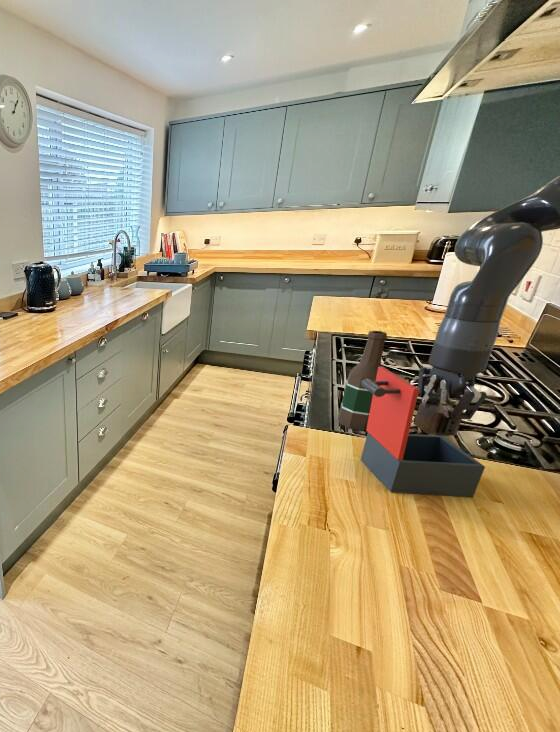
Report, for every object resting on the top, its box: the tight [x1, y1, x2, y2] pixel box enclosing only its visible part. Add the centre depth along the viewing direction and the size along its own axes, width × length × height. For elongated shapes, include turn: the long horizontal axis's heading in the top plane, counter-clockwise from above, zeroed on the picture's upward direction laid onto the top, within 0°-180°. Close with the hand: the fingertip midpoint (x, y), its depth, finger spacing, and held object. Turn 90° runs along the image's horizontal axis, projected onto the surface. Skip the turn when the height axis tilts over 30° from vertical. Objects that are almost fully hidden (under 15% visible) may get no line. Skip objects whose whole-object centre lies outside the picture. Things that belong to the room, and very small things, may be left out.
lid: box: [361, 366, 419, 460], centre depth 80 cm, size 14×12×5 cm
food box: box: [360, 432, 486, 498], centre depth 83 cm, size 14×12×7 cm
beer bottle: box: [338, 330, 388, 432], centre depth 101 cm, size 8×8×24 cm
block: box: [413, 402, 463, 436], centre depth 79 cm, size 4×4×4 cm
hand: (434, 427), depth 80 cm, fingers closed on block, 4 cm apart
